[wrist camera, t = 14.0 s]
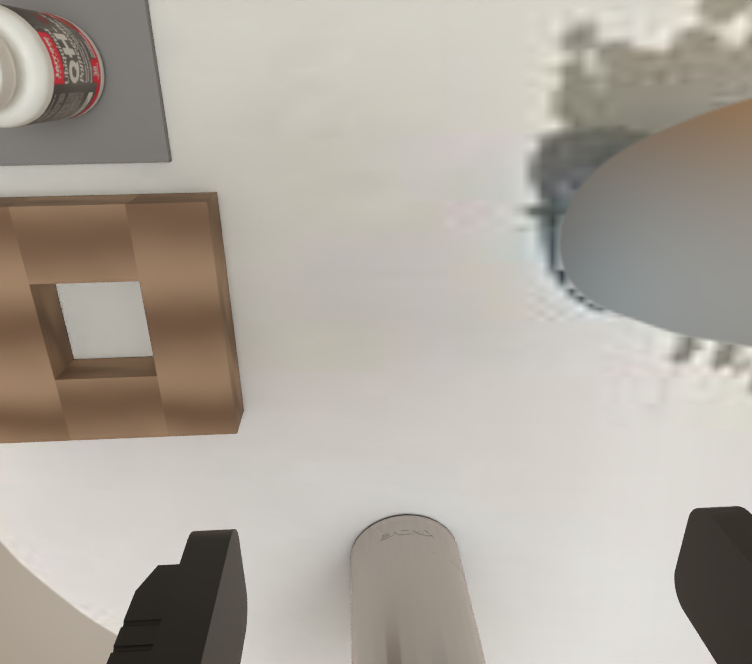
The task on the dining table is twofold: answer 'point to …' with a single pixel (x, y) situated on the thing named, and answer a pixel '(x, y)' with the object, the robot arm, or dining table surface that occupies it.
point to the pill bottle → (45, 68)
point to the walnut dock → (162, 308)
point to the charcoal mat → (118, 99)
